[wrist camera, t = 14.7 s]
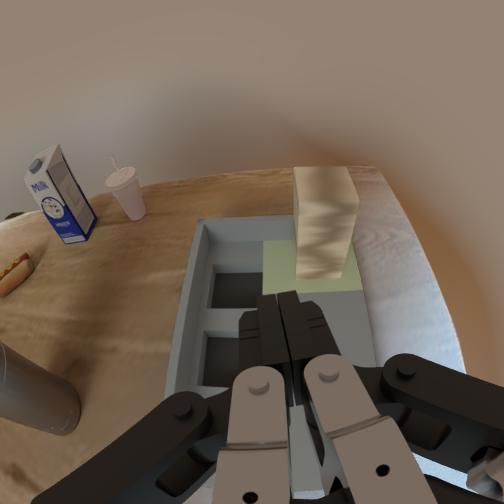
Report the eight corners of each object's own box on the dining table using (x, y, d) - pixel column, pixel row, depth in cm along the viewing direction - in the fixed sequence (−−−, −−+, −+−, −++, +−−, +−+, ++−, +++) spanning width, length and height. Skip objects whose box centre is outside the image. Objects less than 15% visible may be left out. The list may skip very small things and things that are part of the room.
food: (36, 259, 47) (24, 244, 43) (38, 273, 44) (24, 258, 40) (0, 290, 42) (-12, 278, 38) (0, 306, 39) (-13, 293, 35)
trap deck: (178, 478, 21) (155, 484, 16) (207, 249, 43) (198, 219, 38) (375, 476, 19) (397, 482, 14) (346, 244, 41) (353, 213, 36)
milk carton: (98, 218, 52) (59, 142, 37) (87, 240, 48) (40, 161, 33) (75, 222, 53) (36, 152, 37) (64, 244, 48) (18, 172, 33)
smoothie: (147, 199, 54) (125, 143, 43) (155, 215, 50) (131, 154, 39) (121, 213, 52) (95, 158, 41) (127, 230, 48) (97, 171, 38)
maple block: (295, 279, 35) (299, 201, 25) (292, 244, 39) (293, 167, 29) (340, 277, 34) (359, 200, 24) (333, 243, 38) (346, 166, 28)
